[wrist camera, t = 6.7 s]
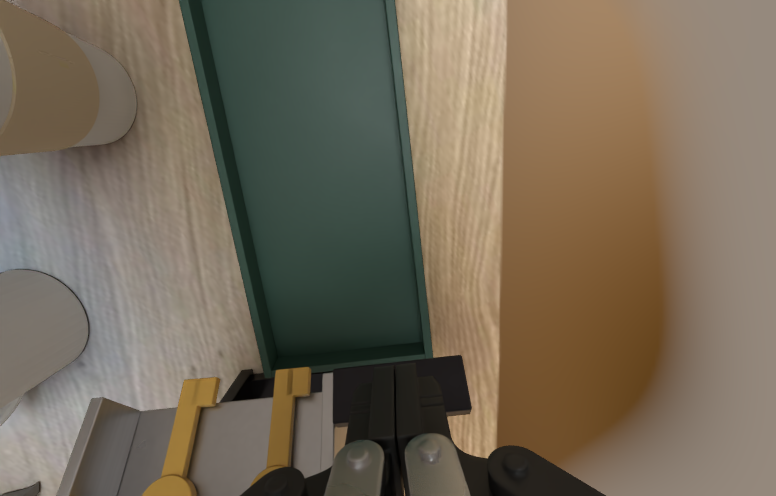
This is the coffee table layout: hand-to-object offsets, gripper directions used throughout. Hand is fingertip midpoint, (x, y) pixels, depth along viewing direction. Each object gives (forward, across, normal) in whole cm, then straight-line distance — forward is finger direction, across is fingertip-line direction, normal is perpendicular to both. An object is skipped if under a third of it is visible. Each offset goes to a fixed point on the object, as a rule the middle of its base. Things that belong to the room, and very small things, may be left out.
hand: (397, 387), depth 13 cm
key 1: (+2, +10, +3) cm, 10 cm away
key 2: (+2, +5, +3) cm, 6 cm away
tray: (+17, +4, -7) cm, 19 cm away
